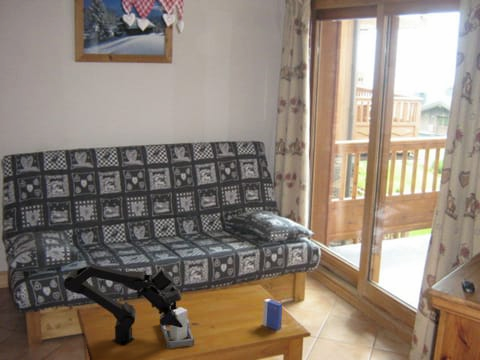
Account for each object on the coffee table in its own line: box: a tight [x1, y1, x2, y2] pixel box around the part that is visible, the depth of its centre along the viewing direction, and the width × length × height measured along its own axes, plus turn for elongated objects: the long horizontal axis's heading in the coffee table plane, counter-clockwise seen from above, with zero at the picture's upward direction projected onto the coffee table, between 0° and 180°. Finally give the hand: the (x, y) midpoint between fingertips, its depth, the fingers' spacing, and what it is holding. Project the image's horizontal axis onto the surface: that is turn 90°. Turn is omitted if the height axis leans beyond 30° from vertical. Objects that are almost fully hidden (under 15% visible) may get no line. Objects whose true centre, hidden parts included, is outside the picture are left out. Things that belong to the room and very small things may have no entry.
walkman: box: [262, 298, 283, 331], centre depth 251 cm, size 8×3×12 cm, turn 54°
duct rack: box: [159, 317, 195, 349], centre depth 242 cm, size 20×11×5 cm, turn 16°
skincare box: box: [169, 306, 188, 341], centre depth 237 cm, size 6×4×12 cm
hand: (182, 322), depth 237 cm, fingers closed on skincare box, 7 cm apart
